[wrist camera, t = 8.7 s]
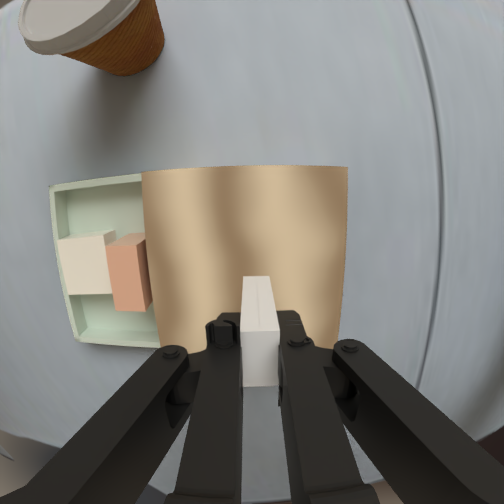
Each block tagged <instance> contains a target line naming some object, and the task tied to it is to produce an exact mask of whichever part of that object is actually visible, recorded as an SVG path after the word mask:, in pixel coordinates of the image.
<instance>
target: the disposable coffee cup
mask: <svg viewBox="0 0 504 504" xmlns="http://www.w3.org/2000/svg"><path fill="white" fill-rule="evenodd" d="M18 26H19V30H20V33H21V35H22V36H23V38H24V41H25V43H26V45H27V46H28V47H29V48H30V50H32V51H34V52H35V53H38V54H42V55H54V54H61V55H62V56H66V57H69V58H71V59H75V60H77V61H80V62H84V63H86V64H88V65H92V66H94V67H96V68H99V69H102V70H104V71H107V72H109V73H112V74H114V75H118V76H127V75H132V74H135V73H138V72H140V71H142V70H144V69H145V68H147V67H148V66H150V65H151V64H152V63H153V62H154V61H155V60H156V59H157V58H158V56H159V54H160V52H161V51H162V48H163V46H164V40H165V39H164V33H163V29H162V26H161V22H160V18H159V14H158V10H157V6H156V2H155V0H24V2H23V4H22V6H21V9H20V14H19V20H18Z"/></svg>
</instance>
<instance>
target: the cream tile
mask: <svg viewBox="0 0 504 504" xmlns="http://www.w3.org/2000/svg"><path fill="white" fill-rule="evenodd" d="M116 240H117V238H116V231H115V229H114V230H105V231H97V232H88V233H80V234H73V235H69V236H66V237H64V238H61V239H59V240H57V245H58V251H59V256H60V261H61V266H62V270H63V275H64V279H65V283H66V288H67V292H68V295H78V294H112V288H111V283H110V277H109V271H108V264H107V257H106V250H105V246H107V245H109V244H110V243H112V242H114V241H116Z"/></svg>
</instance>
